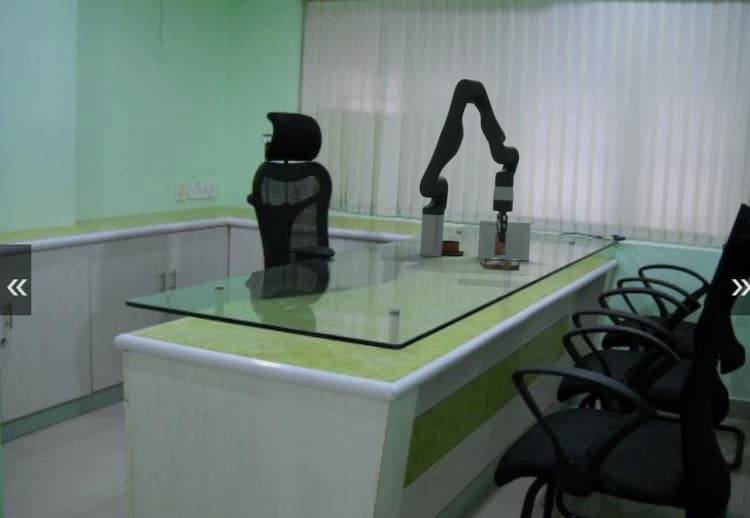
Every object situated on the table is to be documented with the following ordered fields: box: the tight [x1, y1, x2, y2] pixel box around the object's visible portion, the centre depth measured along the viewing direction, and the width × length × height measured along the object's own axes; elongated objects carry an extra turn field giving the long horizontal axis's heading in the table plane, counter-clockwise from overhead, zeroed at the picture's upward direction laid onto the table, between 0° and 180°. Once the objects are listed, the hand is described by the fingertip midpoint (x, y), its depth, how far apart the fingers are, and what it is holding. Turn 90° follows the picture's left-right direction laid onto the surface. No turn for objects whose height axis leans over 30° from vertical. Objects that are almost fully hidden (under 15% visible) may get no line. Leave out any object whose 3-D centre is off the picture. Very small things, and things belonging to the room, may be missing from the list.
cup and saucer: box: [442, 240, 465, 257], centre depth 349 cm, size 12×12×6 cm
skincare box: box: [477, 220, 532, 262], centre depth 343 cm, size 21×5×16 cm, turn 84°
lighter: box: [494, 230, 507, 256], centre depth 315 cm, size 8×3×10 cm, turn 152°
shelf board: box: [479, 258, 521, 271], centre depth 315 cm, size 13×17×4 cm
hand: (500, 241), depth 315 cm, fingers closed on lighter, 7 cm apart
